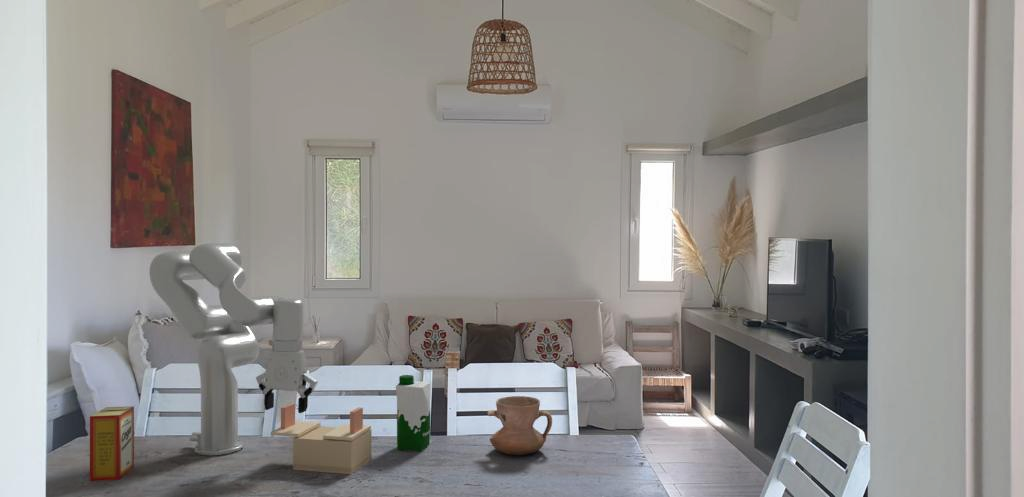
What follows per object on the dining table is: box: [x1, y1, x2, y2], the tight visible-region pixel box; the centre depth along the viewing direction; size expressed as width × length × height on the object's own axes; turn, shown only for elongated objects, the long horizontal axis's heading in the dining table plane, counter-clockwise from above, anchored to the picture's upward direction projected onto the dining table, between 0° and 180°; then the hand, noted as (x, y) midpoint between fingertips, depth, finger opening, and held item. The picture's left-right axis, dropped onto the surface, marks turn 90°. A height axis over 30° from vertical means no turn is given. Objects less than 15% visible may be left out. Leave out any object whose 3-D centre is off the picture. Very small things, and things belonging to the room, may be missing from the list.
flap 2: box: [323, 407, 372, 441], centre depth 178 cm, size 8×12×6 cm
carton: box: [292, 425, 373, 475], centre depth 179 cm, size 16×12×8 cm
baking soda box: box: [89, 406, 135, 482], centre depth 171 cm, size 10×6×16 cm
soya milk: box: [395, 374, 432, 452], centre depth 195 cm, size 9×9×20 cm
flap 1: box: [270, 403, 322, 438], centre depth 182 cm, size 8×12×6 cm
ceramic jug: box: [487, 395, 553, 456], centre depth 191 cm, size 18×14×14 cm
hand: (285, 410), depth 182 cm, fingers open, 9 cm apart
